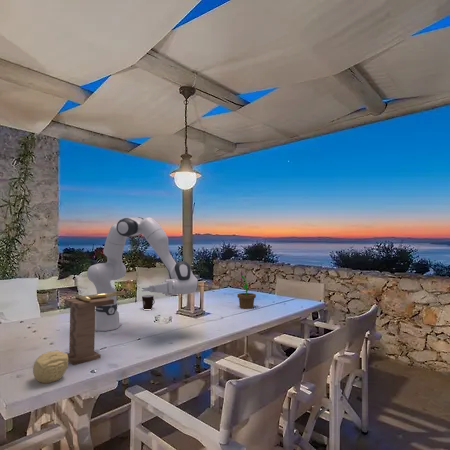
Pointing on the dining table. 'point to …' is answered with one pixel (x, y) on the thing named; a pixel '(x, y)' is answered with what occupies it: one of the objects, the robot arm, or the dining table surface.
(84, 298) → the brass T-key
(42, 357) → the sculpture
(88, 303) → the walnut stand
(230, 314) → the dining table surface
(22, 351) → the dining table surface
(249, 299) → the flowerpot
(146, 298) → the coffee mug
